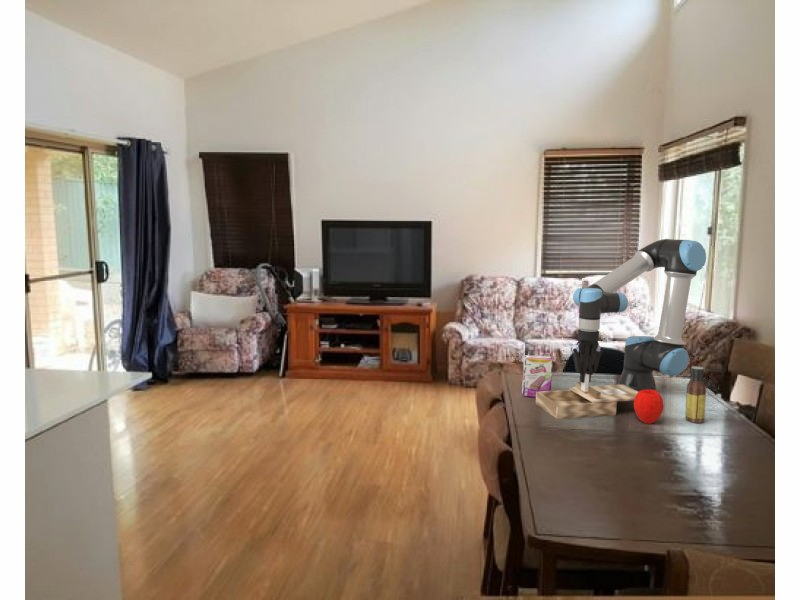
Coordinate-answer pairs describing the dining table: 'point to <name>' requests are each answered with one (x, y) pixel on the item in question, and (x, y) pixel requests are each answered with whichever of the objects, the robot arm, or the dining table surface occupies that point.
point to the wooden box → (572, 405)
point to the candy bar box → (536, 375)
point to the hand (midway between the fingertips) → (584, 390)
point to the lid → (606, 393)
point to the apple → (648, 405)
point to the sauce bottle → (696, 396)
